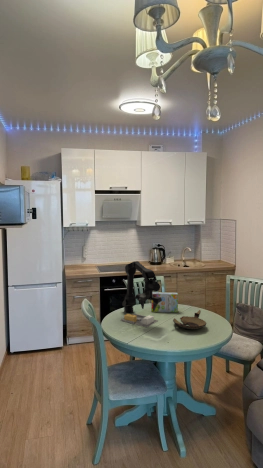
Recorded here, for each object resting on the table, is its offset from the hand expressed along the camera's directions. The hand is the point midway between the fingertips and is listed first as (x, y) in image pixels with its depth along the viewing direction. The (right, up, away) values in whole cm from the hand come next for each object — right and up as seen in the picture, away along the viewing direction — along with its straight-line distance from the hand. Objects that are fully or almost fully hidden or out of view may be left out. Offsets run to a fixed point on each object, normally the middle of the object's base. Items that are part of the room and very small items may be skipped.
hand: (148, 310), depth 223 cm
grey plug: (0, -9, +1) cm, 9 cm away
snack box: (+15, -9, +32) cm, 36 cm away
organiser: (-6, -10, +5) cm, 13 cm away
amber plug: (-13, -9, +4) cm, 16 cm away
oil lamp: (+31, -11, -3) cm, 33 cm away
